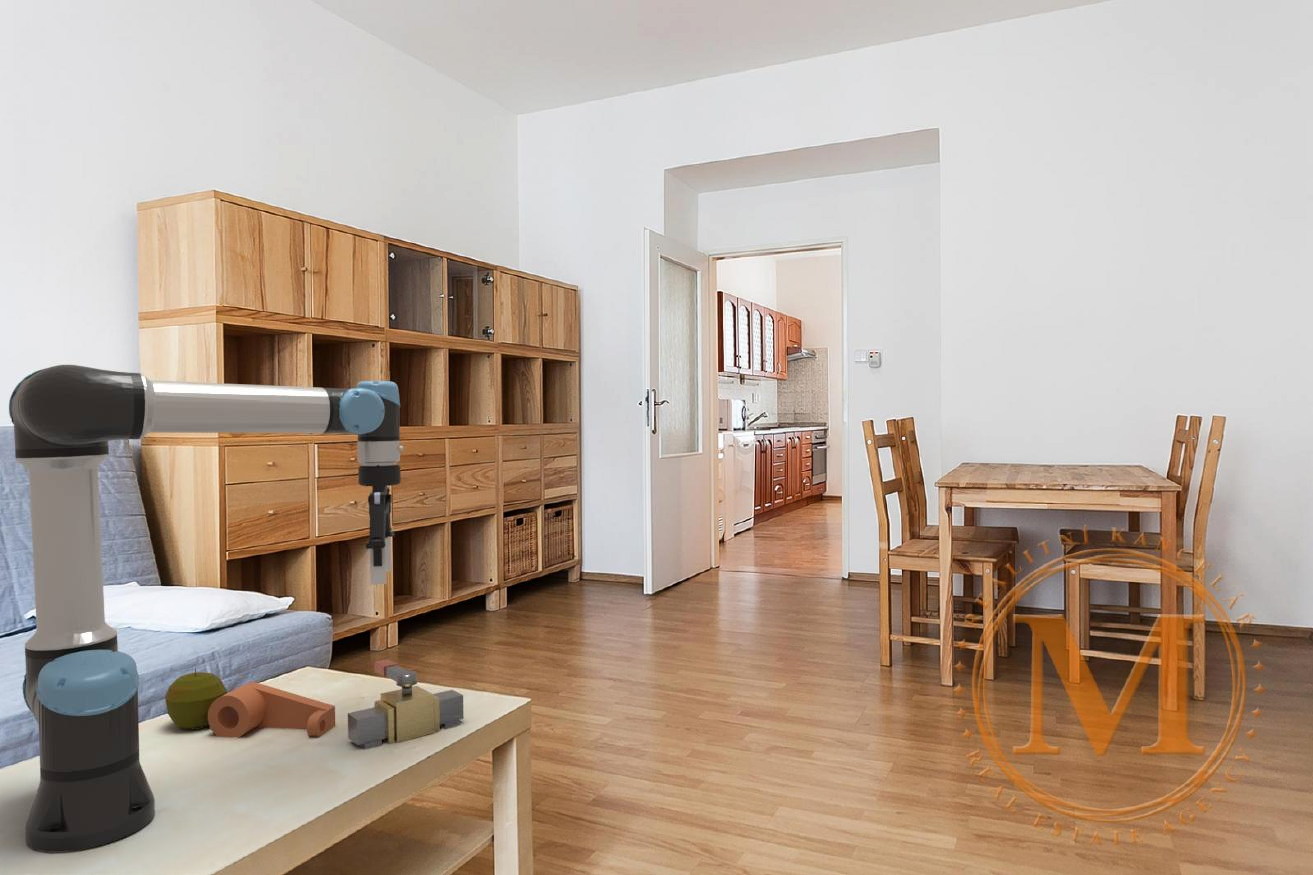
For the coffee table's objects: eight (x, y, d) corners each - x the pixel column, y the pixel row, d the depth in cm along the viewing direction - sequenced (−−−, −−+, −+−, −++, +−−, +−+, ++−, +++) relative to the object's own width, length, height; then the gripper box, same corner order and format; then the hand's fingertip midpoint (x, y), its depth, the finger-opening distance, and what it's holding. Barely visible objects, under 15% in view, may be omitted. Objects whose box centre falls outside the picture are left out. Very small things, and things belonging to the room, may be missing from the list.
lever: (420, 684, 158) (420, 673, 158) (401, 688, 155) (401, 677, 155) (390, 668, 168) (390, 658, 168) (372, 672, 165) (372, 662, 165)
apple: (238, 719, 166) (236, 662, 166) (200, 737, 157) (199, 676, 156) (193, 716, 168) (192, 659, 168) (153, 733, 159) (152, 673, 159)
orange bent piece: (208, 739, 157) (207, 695, 156) (235, 723, 164) (234, 681, 164) (313, 743, 154) (312, 698, 154) (335, 727, 162) (334, 684, 162)
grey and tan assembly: (360, 751, 149) (359, 702, 149) (345, 740, 154) (344, 692, 154) (466, 724, 162) (466, 679, 161) (449, 715, 167) (448, 671, 167)
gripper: (396, 466, 152) (398, 588, 152) (403, 460, 176) (405, 565, 176) (350, 468, 150) (353, 591, 150) (364, 461, 174) (366, 567, 175)
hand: (381, 577), depth 163 cm, fingers open, 13 cm apart
